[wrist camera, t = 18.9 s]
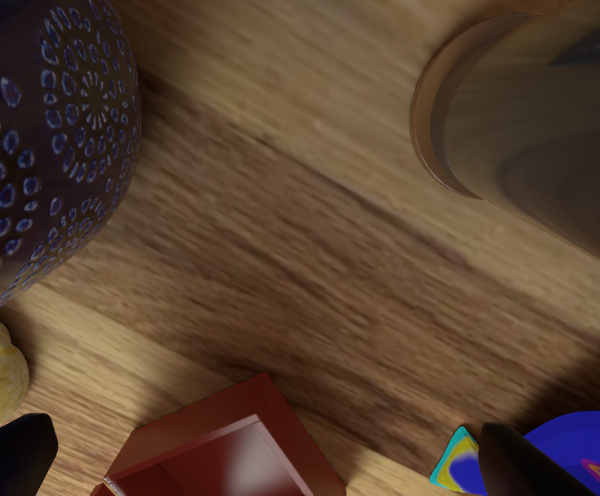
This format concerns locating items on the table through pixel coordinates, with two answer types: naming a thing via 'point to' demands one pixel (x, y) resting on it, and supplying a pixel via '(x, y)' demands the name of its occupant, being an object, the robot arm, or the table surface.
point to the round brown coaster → (433, 81)
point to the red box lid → (101, 491)
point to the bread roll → (11, 376)
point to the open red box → (226, 450)
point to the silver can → (530, 123)
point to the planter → (62, 131)
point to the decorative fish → (548, 438)
